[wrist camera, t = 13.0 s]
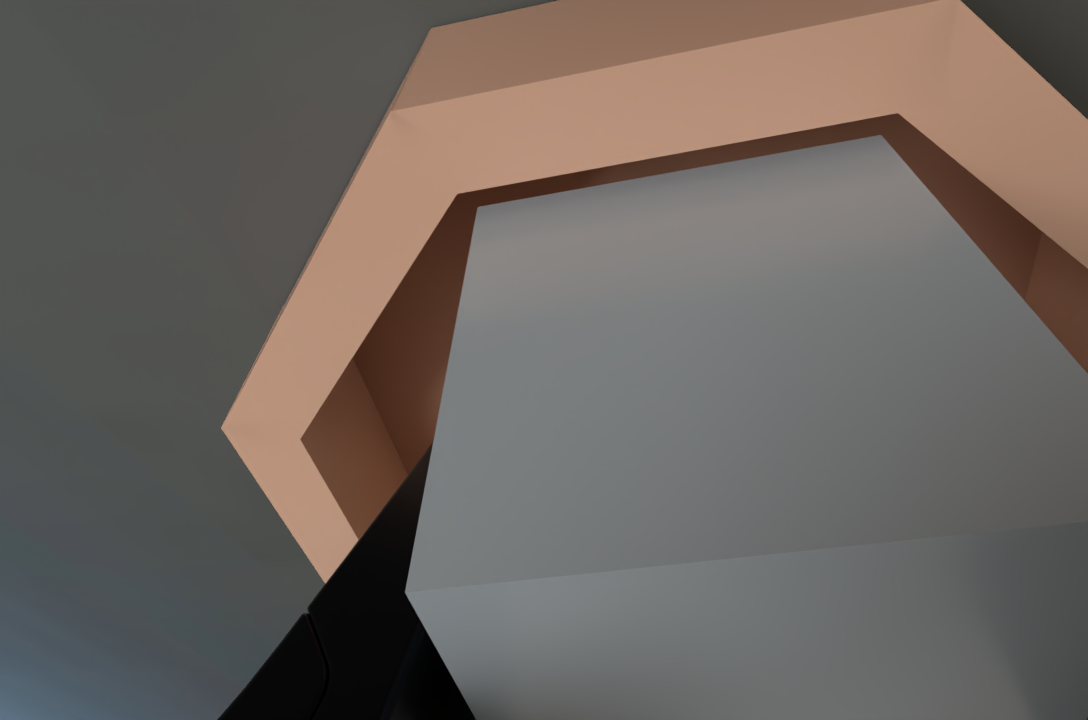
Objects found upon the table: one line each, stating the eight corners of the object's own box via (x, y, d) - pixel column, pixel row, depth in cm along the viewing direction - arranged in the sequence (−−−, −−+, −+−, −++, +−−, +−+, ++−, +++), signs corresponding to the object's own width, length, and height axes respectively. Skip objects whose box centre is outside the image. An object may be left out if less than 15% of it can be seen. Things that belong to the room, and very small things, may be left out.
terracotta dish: (1198, -139, 8) (1442, -103, 6) (995, 546, 16) (1066, 675, 14) (169, 85, 10) (53, 178, 8) (438, 603, 18) (420, 726, 16)
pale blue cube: (881, 135, 8) (1205, 508, 4) (855, 428, 10) (1029, 823, 7) (478, 206, 8) (405, 593, 4) (551, 466, 11) (547, 846, 7)
